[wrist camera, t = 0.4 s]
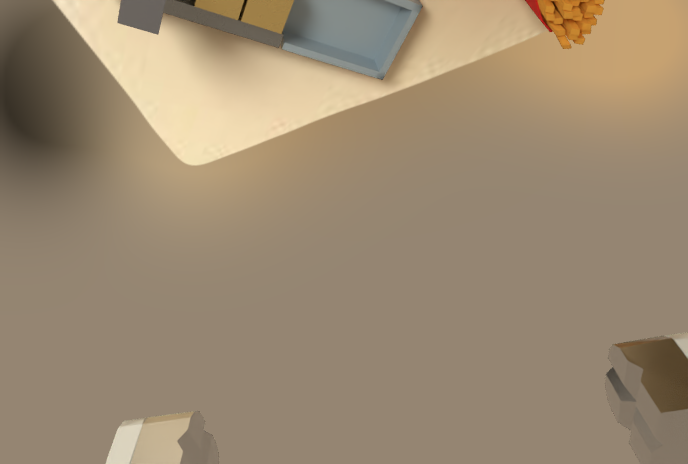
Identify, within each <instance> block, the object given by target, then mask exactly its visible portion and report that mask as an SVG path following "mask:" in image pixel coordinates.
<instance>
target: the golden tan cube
mask: <svg viewBox="0 0 688 464" xmlns="http://www.w3.org/2000/svg"><path fill="white" fill-rule="evenodd" d="M243 3H244V0H194V6H195V7H198V8H201V9H204V10H207V11H210V12H214V13H217V14H220V15H223V16H226V17H229V18H232V19H236V20H238V18H239V15H240V12H241V9H242V6H243Z"/></svg>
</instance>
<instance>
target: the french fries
mask: <svg viewBox="0 0 688 464" xmlns="http://www.w3.org/2000/svg"><path fill="white" fill-rule="evenodd" d="M525 1H526V2H527V3H528V5H529V6H530V7H531V9H532V10H533V11H534V13H535V14H536V15H537V17H538V18H539V19H540V20H541V22H542V23H543V24H544V25H545V27H546V28H547V29H548V30H549V31H550V32H552V31H553V32H554V33H555V34H556V36H557V38H558V40H559V42H560V44H561V46H562V47H563V49H569V48H571V45H570V43H569V41H568V40H567V38H566V36H567V37H568V39H569V40H573V41H574V43H576V44H583V43H584V41H585V38H584V37H583V36H582V34H590V33H591V25H596V22H597V19H596V18H595V17H594V16H593V15H594V14H595V15H602V12H603V7H601V6H600V5H599V4H603V3H604V0H525ZM565 35H566V36H565Z"/></svg>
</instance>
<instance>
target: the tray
mask: <svg viewBox="0 0 688 464" xmlns="http://www.w3.org/2000/svg"><path fill="white" fill-rule="evenodd" d="M422 7H423V6H422V4H421V2H420V1H419V0H294V2H293V5H292V7H291V10H290V13H289V15H288V18H287V20H286V23H285V26H284V28H283V33H284V36H283V38H282V41H281V48H282V49H283V50H286V51H289V52H292V53H296V54H299V55H302V56H306V57H309V58H312V59H315V60H319V61H322V62H325V63H329V64H332V65H335V66H338V67H342V68H345V69H348V70H352V71H355V72H358V73H361V74H365V75H368V76H371V77H374V78H378V79H381V80H383V78H384V76H385V74H386V73H387V71H388V69H389V67H390V65H391V63H392V62H393V60H394V58H395V56H396V54H397V52H398V51H399V49H400V47H401V45H402V43H403V41H404V40H405V38H406V36H407V34H408V32H409V30H410V29H411V27H412V25H413V23H414V21H415V19H416V18H417V16H418V14H419V12H420V10H421V8H422Z"/></svg>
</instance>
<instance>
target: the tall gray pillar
mask: <svg viewBox="0 0 688 464" xmlns="http://www.w3.org/2000/svg"><path fill="white" fill-rule="evenodd" d="M165 2H166V0H121V3H120V10H119V16H118V23H120V24H123V25H127V26H130V27H134V28H137V29H141V30H144V31H148V32H151V33H154V34H158V33H159V29H160V24H161V20H162V15H163V11H164V6H165Z"/></svg>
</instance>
